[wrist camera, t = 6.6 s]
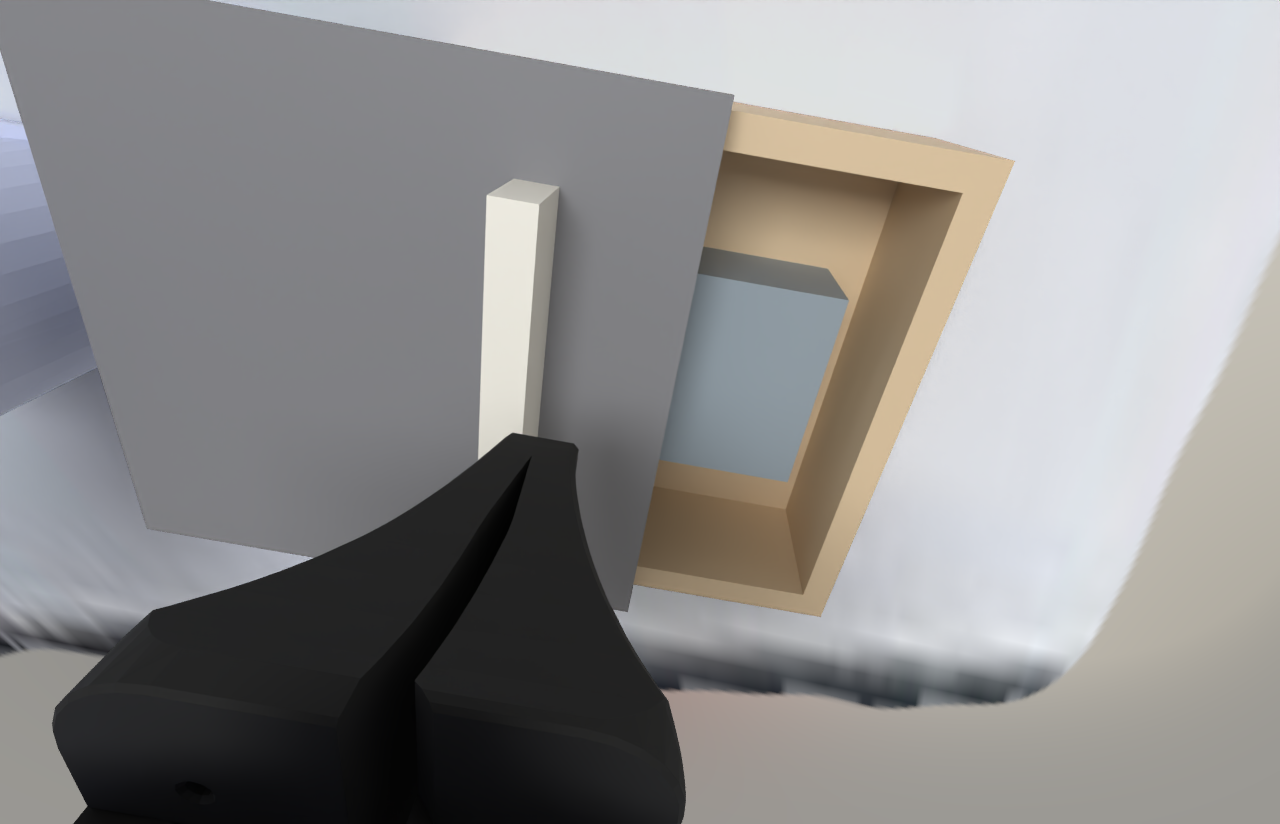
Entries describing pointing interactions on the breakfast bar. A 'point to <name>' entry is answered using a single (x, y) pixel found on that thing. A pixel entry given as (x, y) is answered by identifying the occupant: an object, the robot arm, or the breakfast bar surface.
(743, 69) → the breakfast bar surface
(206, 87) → the grey square slab
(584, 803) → the robot arm
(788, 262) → the storage box
